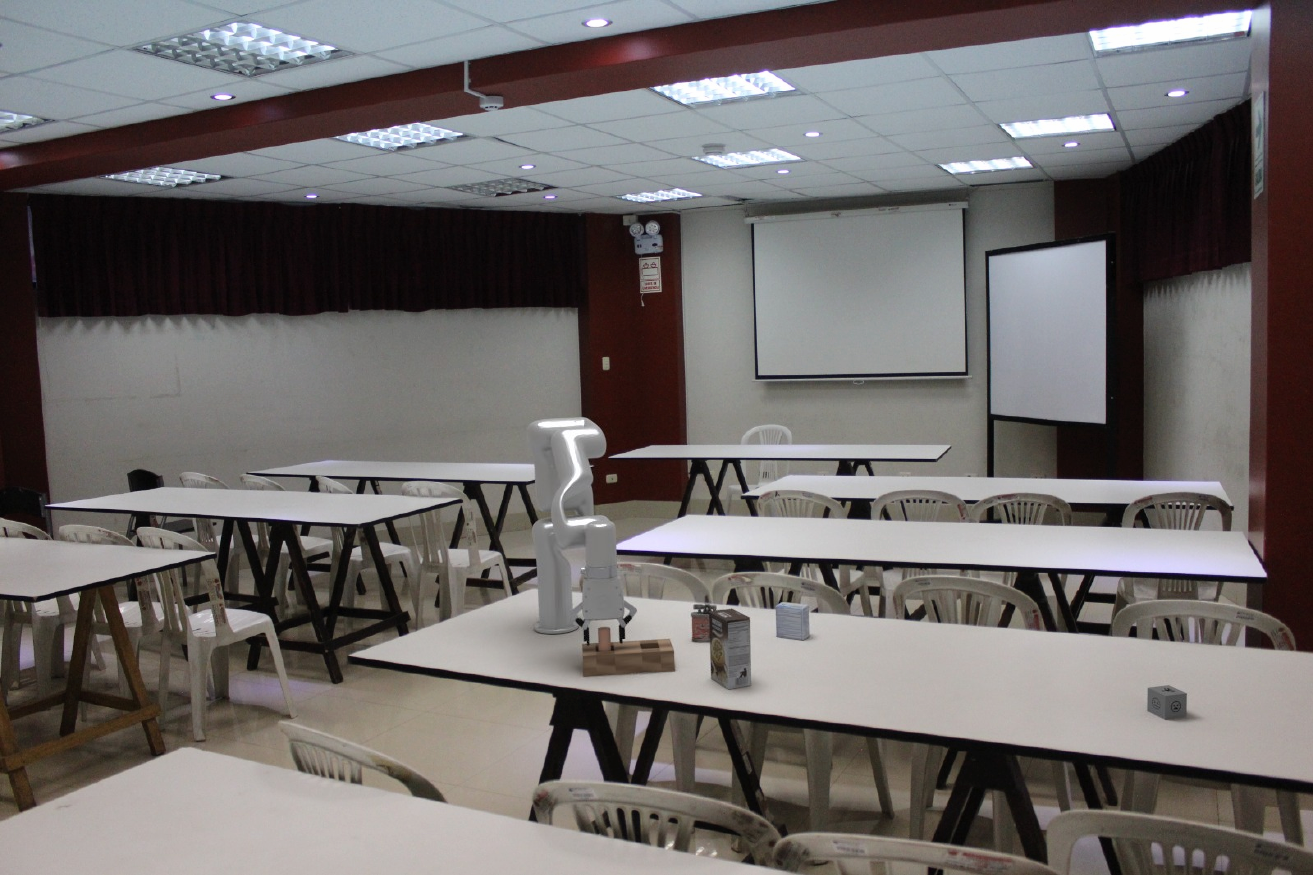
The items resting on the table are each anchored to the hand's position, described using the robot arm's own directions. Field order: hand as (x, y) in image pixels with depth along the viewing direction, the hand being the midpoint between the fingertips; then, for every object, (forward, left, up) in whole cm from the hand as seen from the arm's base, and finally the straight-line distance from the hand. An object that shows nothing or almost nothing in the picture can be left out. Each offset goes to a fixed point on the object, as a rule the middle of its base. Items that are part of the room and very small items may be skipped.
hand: (604, 642), depth 238 cm
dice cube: (+50, +112, -7) cm, 123 cm away
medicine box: (-17, +51, -7) cm, 54 cm away
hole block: (0, +6, -6) cm, 8 cm away
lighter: (-18, +28, -7) cm, 34 cm away
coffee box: (+15, +29, -7) cm, 33 cm away
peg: (0, 0, -6) cm, 6 cm away
